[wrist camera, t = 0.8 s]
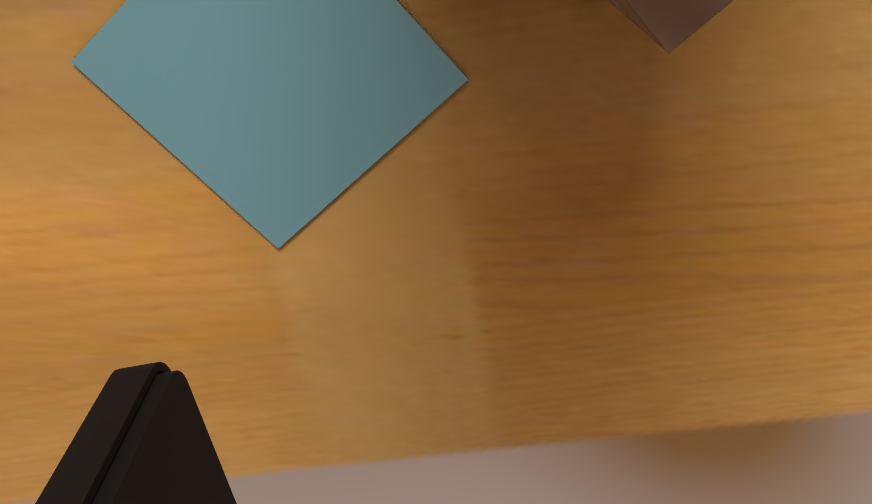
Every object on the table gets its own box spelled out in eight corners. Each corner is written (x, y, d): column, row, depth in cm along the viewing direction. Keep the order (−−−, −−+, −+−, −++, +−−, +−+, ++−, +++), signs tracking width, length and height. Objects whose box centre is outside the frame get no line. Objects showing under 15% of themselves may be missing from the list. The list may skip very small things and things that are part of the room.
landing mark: (262, -149, 32) (261, -149, 32) (468, 78, 36) (468, 79, 36) (72, 60, 36) (70, 62, 36) (278, 246, 40) (277, 249, 40)
